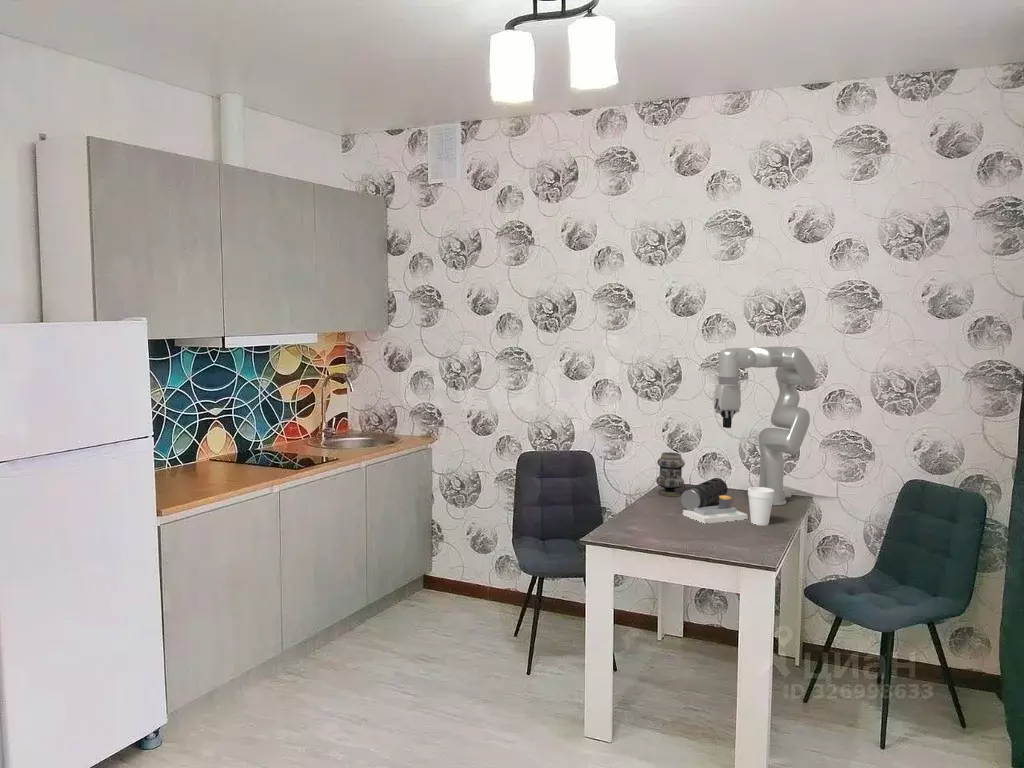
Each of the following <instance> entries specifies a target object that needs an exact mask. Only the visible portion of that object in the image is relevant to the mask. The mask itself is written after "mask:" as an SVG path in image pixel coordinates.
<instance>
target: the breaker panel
mask: <svg viewBox="0 0 1024 768" xmlns="http://www.w3.org/2000/svg"><path fill="white" fill-rule="evenodd" d="M682 516H684V517H686V516H687V517H686V518H688V517H689V519H691V520H693V519H694V520H693V521H696V520H697V521H696V522H698V521H699V523H701V522H702V523H701V524H703V523H704V524H703V525H707V524H706V523H708V524H715V523H717V522H718V523H725V522H726V521H728V522H736V521H735V520H737V521H745V520H744V519H747V520H748V518H749V517H748V514H747V513H746V512H742V511H739V510H737V508H736V507H733V506H731V508H727V509H719V505H708V506H705V507H698V508H694V510H693V511H690V510H687V509H683V510H682ZM726 523H727V522H726Z"/></svg>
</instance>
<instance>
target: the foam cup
mask: <svg viewBox="0 0 1024 768" xmlns="http://www.w3.org/2000/svg"><path fill="white" fill-rule="evenodd" d="M747 496H748V506H749V514H750V517H749V518H750V523H751V524H752V523H753V524H752V525H754V524H756V525H755V526H769V523H770V518H771V512H772V508H773V505H772V502H773V497H774V490H773V489H770V488H765V487H759V486H752V487H748V488H747Z"/></svg>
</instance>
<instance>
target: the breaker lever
mask: <svg viewBox="0 0 1024 768" xmlns="http://www.w3.org/2000/svg"><path fill="white" fill-rule="evenodd" d="M731 504H732V496H729V495H727V494H726V495H723V496H719V500H718V506H719V509H727V508H731V507H732V506H731Z"/></svg>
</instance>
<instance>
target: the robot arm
mask: <svg viewBox="0 0 1024 768" xmlns="http://www.w3.org/2000/svg"><path fill="white" fill-rule="evenodd" d="M718 355H719V356H718V382H717V383H718V384H716V386H715V390H714V397H713V409H715V413H716V414H719V415H720V416H721V418H722V427H723V428H726V429H731V428H732V423H733V421H732V419H733V418H734V415H735V414H737V413H740V409H741V405H742V397H741V395H742V394H741V387H740V384H739V382H740V381H741V378H740V377H739V369H749V368H759V369H760V368H761V369H765V368H775V369H776V370H775V379H776V381H777V384H778V389H779V393H778V397H777V400H776V403H775V405H774V408H773V410H772V413H771V417H770V422H771V424H772V425H773V426H774V427H766V428H763V429H762V430H761V431H760V432H759V433H758V434H759V435H758V445H759V453H760V455H759V456H760V460H759V462H760V465H759V480H758V481H759V482H758V483H759V485H758V487H765V488H770V489H773V490H774V497H773V502H772V506H784V505H786V504H787V500H786V498H791V497H792V492H785V491H784V472H785V460H784V457H783V453H785V454H791V455H792V454H796V453H797V452H798V451H799V450H800V449H801V446H802V445H803V442H804V440H805V437H806V434H807V431H808V429H809V426H810V423H811V422H810V421H811V416H810V415H811V414H810V413H809V411H808V410H807V409H806V408H804V407H799V403H800V398H801V397H800V393H799V390H797V388H796V386H803V387H804V386H805V387H806V386H812V385H813V384H814V383H815V381H816V377H817V374H816V370H815V367H814V366H813V364H812V362H811V361H810V359H809V358H808V356H807V355H806V353H805V352H804V351H803V349H801V348H799V347H796V346H794V347H793V346H756V347H755V346H754V347H753V346H752V347H731V348H730V347H728V348H725V349H722V350H720V351H719V354H718Z"/></svg>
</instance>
